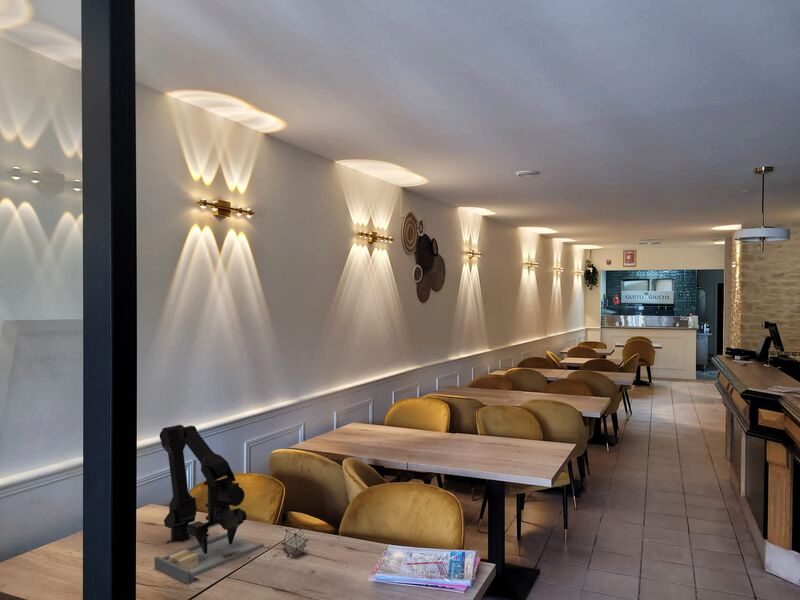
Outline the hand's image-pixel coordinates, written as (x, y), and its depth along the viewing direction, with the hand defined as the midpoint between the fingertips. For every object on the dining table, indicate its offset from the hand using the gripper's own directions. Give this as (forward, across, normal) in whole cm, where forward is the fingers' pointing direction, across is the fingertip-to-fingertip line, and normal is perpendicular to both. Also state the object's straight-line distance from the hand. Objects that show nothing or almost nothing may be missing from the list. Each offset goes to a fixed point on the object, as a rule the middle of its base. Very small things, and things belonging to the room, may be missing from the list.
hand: (218, 548), depth 189 cm
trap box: (+2, -3, 0) cm, 4 cm away
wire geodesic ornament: (+3, +16, -19) cm, 25 cm away
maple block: (+1, -12, 0) cm, 12 cm away
